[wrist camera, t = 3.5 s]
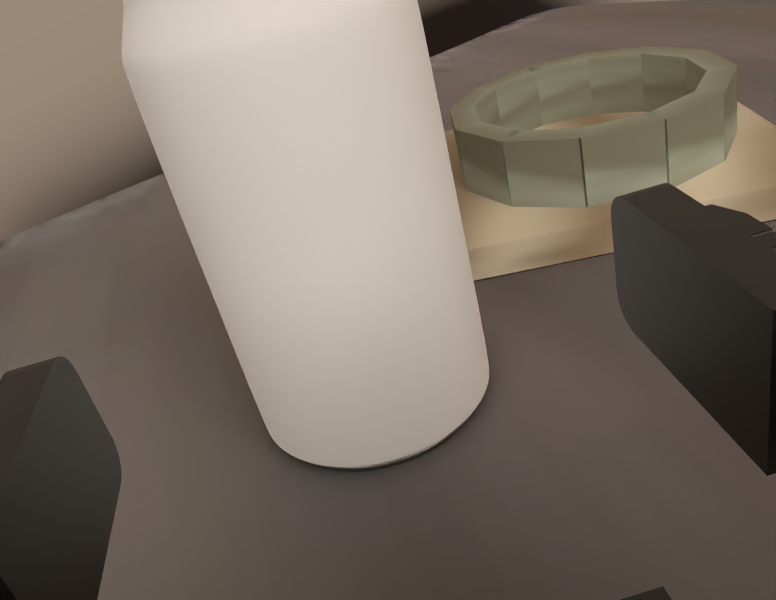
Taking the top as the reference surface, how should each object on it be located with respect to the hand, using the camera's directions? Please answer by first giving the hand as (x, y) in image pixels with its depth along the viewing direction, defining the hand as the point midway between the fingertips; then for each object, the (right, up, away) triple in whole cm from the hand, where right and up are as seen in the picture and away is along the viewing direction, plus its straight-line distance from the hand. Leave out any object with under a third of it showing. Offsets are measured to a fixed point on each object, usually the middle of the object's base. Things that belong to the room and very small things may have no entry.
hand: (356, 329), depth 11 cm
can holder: (+9, +5, +20) cm, 22 cm away
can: (0, -2, +10) cm, 11 cm away
